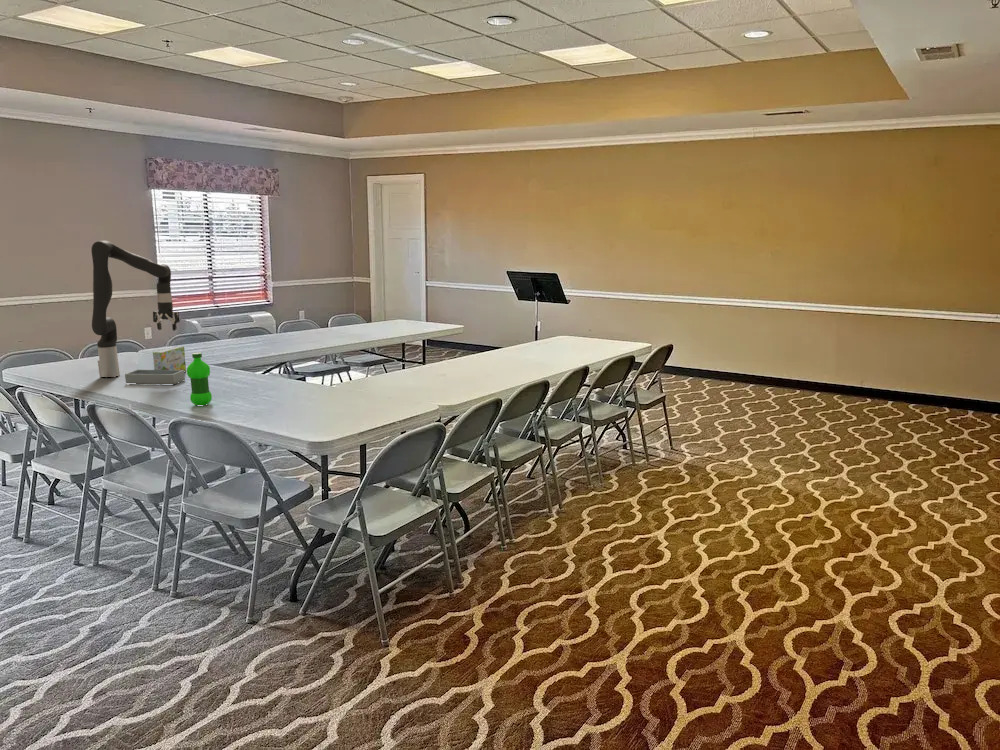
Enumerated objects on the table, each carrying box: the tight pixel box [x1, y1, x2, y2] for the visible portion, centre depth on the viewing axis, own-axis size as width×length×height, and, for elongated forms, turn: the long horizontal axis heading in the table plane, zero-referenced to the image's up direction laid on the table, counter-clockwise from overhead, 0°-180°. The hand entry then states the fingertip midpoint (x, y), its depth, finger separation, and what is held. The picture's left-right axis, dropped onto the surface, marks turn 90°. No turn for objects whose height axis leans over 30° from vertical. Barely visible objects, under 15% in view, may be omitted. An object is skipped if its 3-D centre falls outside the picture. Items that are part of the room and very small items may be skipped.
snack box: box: [152, 345, 187, 372], centre depth 416 cm, size 21×6×15 cm, turn 168°
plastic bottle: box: [186, 352, 213, 406], centre depth 349 cm, size 10×10×25 cm
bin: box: [124, 369, 186, 385], centre depth 398 cm, size 27×12×6 cm, turn 86°
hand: (167, 330), depth 412 cm, fingers open, 8 cm apart
